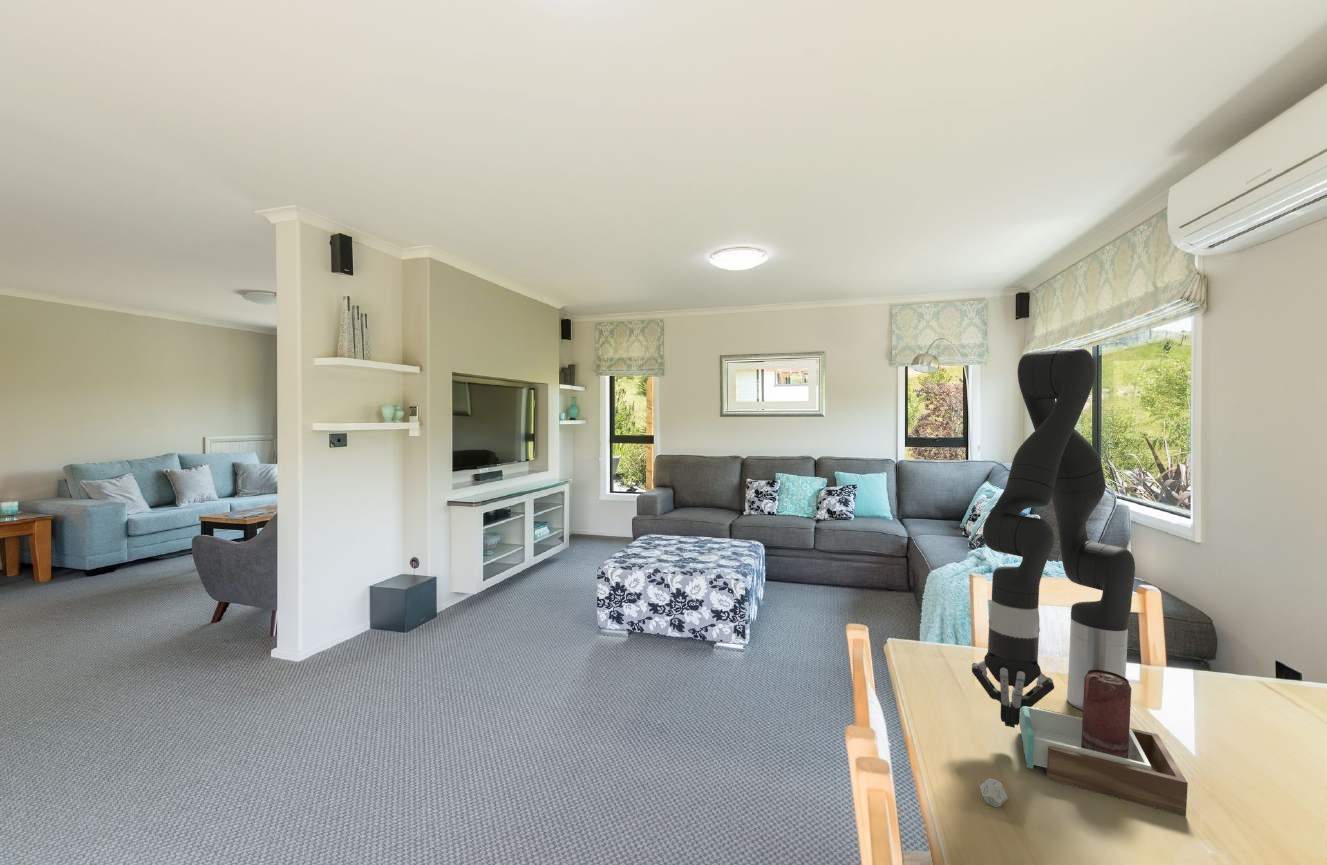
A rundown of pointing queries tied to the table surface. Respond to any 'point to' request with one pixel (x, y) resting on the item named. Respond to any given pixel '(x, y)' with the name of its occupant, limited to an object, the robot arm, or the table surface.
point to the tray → (1065, 738)
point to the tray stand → (1125, 775)
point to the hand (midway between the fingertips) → (1009, 724)
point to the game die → (993, 792)
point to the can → (1106, 713)
